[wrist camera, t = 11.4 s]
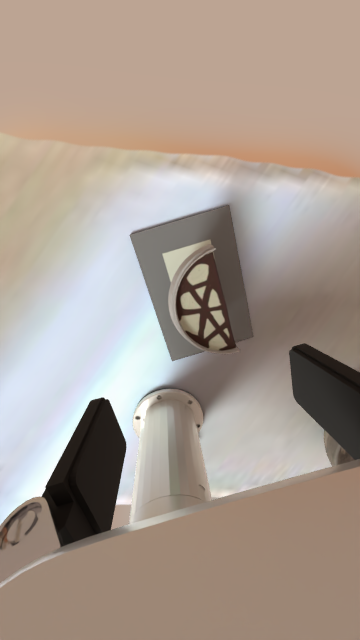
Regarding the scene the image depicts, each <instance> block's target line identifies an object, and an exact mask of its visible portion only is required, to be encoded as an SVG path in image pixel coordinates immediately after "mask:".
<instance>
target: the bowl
mask: <svg viewBox="0 0 360 640" xmlns="http://www.w3.org/2000/svg"><path fill="white" fill-rule="evenodd" d="M324 443H325V448H326V453H327V456H328V458H329V460H330V462H331V465H332V466H336V465H340V464H343V463H347V462H350V461H354V459H353V458H352V457H351V456H350V455H349V454H348V453H347V452H346V451H345V450H344V449H343V448H342V447H341V446H340V445H339V444H338V443H337V442H336V441H335V440H334V439H333V438H332V437H331V436H330V435H329V434H328V433H327V432H326V431H324Z"/></svg>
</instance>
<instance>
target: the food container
mask: <svg viewBox="0 0 360 640" xmlns="http://www.w3.org/2000/svg"><path fill="white" fill-rule="evenodd" d="M215 249H216V248H214V246H213V245H210V244H208V245H206V246H204V247H201V248H200V249H198V250H196V251H195V252H193V253H192V254H191V255H190V256H188V257H187V258H186V259H185V260H184V261H183V263H182V264H181V265H180V266H179V268H178V269H177V271H176V273H175V274H174V277H173V279H172V282H171V285H170V289H169V296H168V305H169V312H170V316H171V319H172V321H173V323H174V325H175V327H176V329H177V330H178V332H179V333H180V334H181V335H182V336H183V337H184V338H185V339H186V340H187V341H188V342H190V343H191V344H192V345H194V346H195V347H197V348H199V349H201V350H204V351H207V352H211V353H216V354H233V353H237V352H240V350H239V349H238V347H237V346H236V344H235V340H234V337H233V333H232V329H231V324H230V320H229V315H228V310H227V305H226V301H225V298H224V294H223V291H222V287H221V283H220V279H219V275H218V271H217V267H216V263H215V259H214V255H213V251H214V250H215Z"/></svg>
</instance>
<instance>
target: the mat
mask: <svg viewBox="0 0 360 640" xmlns="http://www.w3.org/2000/svg"><path fill="white" fill-rule="evenodd" d="M130 238H131V241H132V244H133V247H134V250H135V253H136V255H137V258H138V261H139V264H140V267H141V270H142V273H143V276H144V279H145V282H146V285H147V288H148V291H149V294H150V297H151V300H152V303H153V306H154V309H155V312H156V315H157V318H158V321H159V324H160V327H161V330H162V333H163V336H164V339H165V342H166V344H167V347H168V350H169V353H170V356H171V359H172V361H175V360H178V359H181V358H185V357H188V356H191V355H195V354H198V353H201V352H204V350H201V349H199V348H197V347H195V346H194V345H192V344H191V343H190V342H188V341H187V340H186V339H185V338H184V337H183V336H182V335H181V334H180V333H179V332H178V330H177V329H176V327H175V325H174V323H173V321H172V319H171V316H170V312H169V305H168V296H169V289H170V285H171V282H172V279H173V277H174V274H175V273H176V271H177V269H178V268H179V266H180V265H181V264H182V263H183V261H184V260H185V259H186V258H187V257H188V256H190V255H191V254H192V253H193V252H195V251H196V250H198V249H200V248H201V247H204V246H206V245H208V244H210V245H213V246H214V248H216V249H215V250H214V251H213V255H214V259H215V263H216V267H217V271H218V275H219V279H220V283H221V287H222V291H223V294H224V298H225V301H226V305H227V310H228V315H229V320H230V324H231V329H232V333H233V337H234V340H235V342H238V341H241V340H244V339H248V338H251V337H253V332H252V327H251V321H250V316H249V310H248V305H247V300H246V294H245V289H244V283H243V278H242V272H241V267H240V262H239V256H238V251H237V245H236V240H235V234H234V229H233V224H232V218H231V213H230V207H229V205H228V206H224V207H221V208H218V209H214V210H211V211H208V212H204V213H201V214H198V215H194V216H191V217H188V218H184V219H181V220H178V221H174V222H171V223H168V224H164V225H161V226H158V227H154V228H151V229H148V230H144V231H141V232H138V233H134V234H131V235H130Z"/></svg>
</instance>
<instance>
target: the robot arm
mask: <svg viewBox="0 0 360 640" xmlns="http://www.w3.org/2000/svg"><path fill="white" fill-rule="evenodd" d="M289 355H290V365H291V376H292V386H293V395H294V398H295V400H296V401H297V403H298V404H299V405H300V406H301V407H302V408H303V409H304V410H305V411H306V412H307V413H308V414H309V415H310V416H311V417H312V418H313V419H314V420H315V421H316V422H317V423H318V424H319V425H320V426H321V427H322V428H323V429H324V430H325V431H326V432H327V433H328V434H329V435H330V436H331V437H332V438H333V439H334V440H335V441H336V442H337V443H338V444H339V445H340V446H341V447H342V448H343V449H344V450H345V451H346V452H347V453H348V454H349V455H350V456H351V457H352V458H353V459H354V461H350V462H347V463H343V464H340V465H336V466H332V467H329V468H325V469H321V470H318V471H314V472H311V473H307V474H303V475H300V476H296V477H292V478H289V479H285V480H282V481H278V482H275V483H271V484H268V485H264V486H260V487H257V488H253V489H250V490H246V491H243V492H239V493H236V494H232V495H229V496H225V497H222V498H218V499H215V500H212V498H211V493H210V488H209V483H208V479H207V474H206V469H205V464H204V460H203V455H202V450H201V445H200V440H199V436H198V433H199V431H200V429H201V427H202V424H203V413H202V409H201V406H200V404H199V402H198V401H197V400H196V399H195V398H194V397H193V396H192V395H190V394H189V393H187V392H185V391H182V390H178V389H162V390H158V391H155V392H153V393H150V394H149V395H147V396H146V397H144V398H143V399H142V400H141V401H140V402H139V404H138V405H137V407H136V409H135V411H134V416H133V428H134V431H135V433H136V435H137V436H138V437H139V446H138V454H137V462H136V470H135V478H134V486H133V494H132V502H131V511H130V518H129V525H126V526H122V527H119V528H116V529H113V530H111V525H112V520H113V515H114V510H115V504H116V499H117V494H118V489H119V484H120V479H121V473H122V468H123V463H124V458H125V453H126V441H125V438H124V436H123V433H122V431H121V428H120V426H119V424H118V421H117V419H116V416H115V414H114V411H113V409H112V406H111V404H110V402H109V400H108V399H107V400H105V398H99V399H95V400H92V401H90V403H89V405H88V407H87V409H86V411H85V413H84V414H83V416H82V418H81V420H80V422H79V424H78V426H77V428H76V430H75V432H74V433H73V435H72V437H71V439H70V441H69V443H68V445H67V447H66V449H65V451H64V452H63V454H62V456H61V458H60V460H59V462H58V464H57V466H56V468H55V470H54V472H53V473H52V475H51V477H50V479H49V481H48V483H47V485H46V487H45V488H46V489H45V491H44V493H43V495H42V497H35V498H32V499H30V500H28V501H26V502H24V503H23V504H21V505H20V506H19V507H17V508H16V509H15V510H14V511H13V512H12V513H11V514H10V515H9V516H8V517H7V518H6V519H5V520H4V522H3V523H2V524H1V526H0V640H360V373H359V372H358V371H356V370H354V369H352V368H350V367H348V366H346V365H345V364H343V363H341V362H339V361H337V360H335V359H333V358H331V357H330V356H328V355H326V354H324V353H322V352H320V351H318V350H317V349H315V348H313V347H311V346H309V345H307V344H300V345H297V346H293V347H292V350H290V352H289Z"/></svg>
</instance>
